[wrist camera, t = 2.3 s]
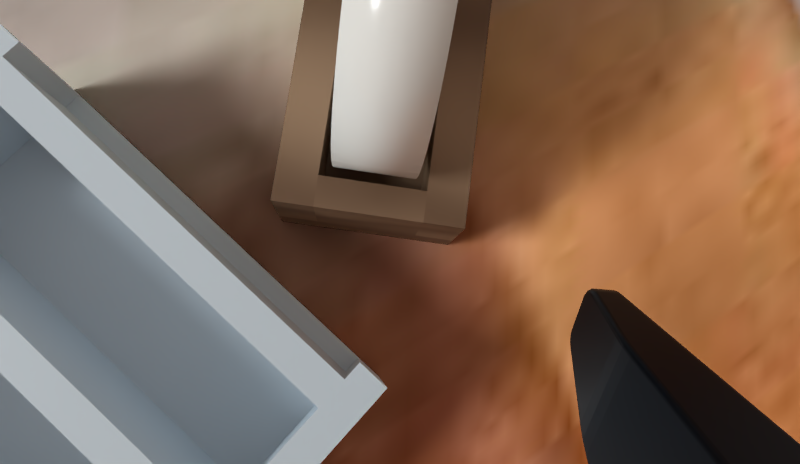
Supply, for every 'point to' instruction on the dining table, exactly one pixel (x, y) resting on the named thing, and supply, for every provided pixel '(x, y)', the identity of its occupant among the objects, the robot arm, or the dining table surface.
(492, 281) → the dining table surface
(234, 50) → the dining table surface
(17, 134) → the rack
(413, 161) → the plate
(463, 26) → the stand
